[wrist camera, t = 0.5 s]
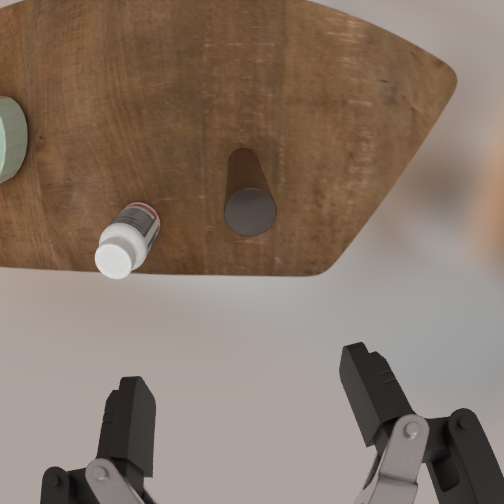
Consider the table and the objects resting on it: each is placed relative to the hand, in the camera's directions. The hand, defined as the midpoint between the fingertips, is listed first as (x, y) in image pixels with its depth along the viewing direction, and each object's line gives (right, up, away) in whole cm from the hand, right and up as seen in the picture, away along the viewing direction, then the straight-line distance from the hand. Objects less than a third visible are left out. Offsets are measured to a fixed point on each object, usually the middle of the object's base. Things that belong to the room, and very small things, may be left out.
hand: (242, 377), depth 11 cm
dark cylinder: (-1, +15, +21) cm, 26 cm away
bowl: (-34, +20, +16) cm, 43 cm away
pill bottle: (-13, +9, +24) cm, 29 cm away
